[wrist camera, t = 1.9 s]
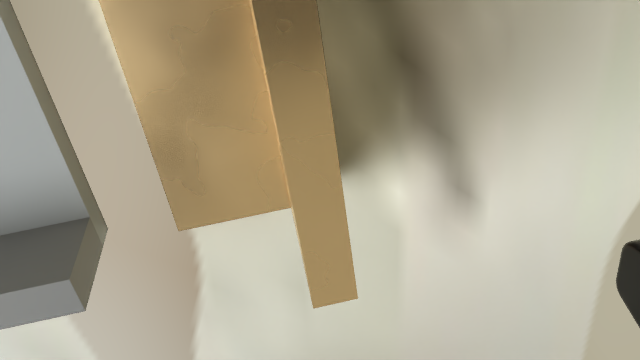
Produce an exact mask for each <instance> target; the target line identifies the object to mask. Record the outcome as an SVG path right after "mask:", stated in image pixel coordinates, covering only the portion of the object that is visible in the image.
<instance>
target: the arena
mask: <svg viewBox="0 0 640 360" xmlns="http://www.w3.org/2000/svg"><path fill="white" fill-rule="evenodd" d="M107 230H108V228H107V225H106V223H105V221H104V218H103V216H102V214H101V211H100V209H99V207H98V205H97V202H96V200H95V198H94V195H93V193H92V191H91V188H90V186H89V184H88V181H87V179H86V177H85V174H84V172H83V170H82V167H81V165H80V163H79V160H78V158H77V156H76V153H75V151H74V149H73V147H72V144H71V142H70V140H69V137H68V135H67V133H66V130H65V128H64V126H63V123H62V121H61V119H60V116H59V114H58V112H57V109H56V107H55V105H54V102H53V100H52V98H51V95H50V93H49V91H48V89H47V86H46V84H45V82H44V79H43V77H42V75H41V72H40V70H39V68H38V65H37V63H36V61H35V58H34V56H33V54H32V51H31V49H30V47H29V44H28V42H27V40H26V38H25V35H24V33H23V31H22V28H21V26H20V24H19V21H18V19H17V17H16V14H15V12H14V10H13V7H12V5H11V3H10V0H0V330H1V329H5V328H10V327H14V326H19V325H24V324H28V323H33V322H37V321H42V320H47V319H51V318H56V317H60V316H65V315H70V314H74V313H79V312H83V311H85V310H86V306H87V303H88V299H89V295H90V292H91V288H92V285H93V281H94V277H95V274H96V270H97V266H98V263H99V259H100V255H101V252H102V248H103V244H104V241H105V237H106V233H107Z"/></svg>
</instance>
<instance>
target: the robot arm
mask: <svg viewBox="0 0 640 360" xmlns="http://www.w3.org/2000/svg"><path fill="white" fill-rule="evenodd" d="M616 283H617V289H618V292H619V294H620V296H621V298H622V299H623V301H624V303H625V304H626V306H627V308H628V309H629V311H630V313H631V314H632V316H633V318H634V319H635V321H636V323H637V324H638V326H639V328H640V240H636V241H631V242H628V243H626V244H625V245H624V247H623V248H622V252H621V258H620V263H619V268H618V273H617V278H616Z"/></svg>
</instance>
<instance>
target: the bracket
mask: <svg viewBox="0 0 640 360" xmlns="http://www.w3.org/2000/svg"><path fill="white" fill-rule="evenodd" d="M99 3H100V5H101V8H102V11H103V14H104V17H105V20H106V23H107V26H108V29H109V32H110V34H111V37H112V40H113V43H114V46H115V49H116V52H117V55H118V58H119V60H120V63H121V66H122V69H123V72H124V75H125V78H126V81H127V84H128V86H129V89H130V92H131V95H132V98H133V101H134V104H135V107H136V110H137V113H138V115H139V118H140V121H141V124H142V127H143V130H144V133H145V136H146V139H147V141H148V144H149V147H150V150H151V153H152V156H153V159H154V162H155V164H156V167H157V170H158V173H159V176H160V179H161V182H162V185H163V188H164V191H165V193H166V196H167V199H168V202H169V205H170V208H171V211H172V214H173V217H174V220H175V222H176V225H177V228H178V231H182V230H187V229H192V228H196V227H201V226H206V225H211V224H216V223H220V222H225V221H230V220H235V219H239V218H244V217H249V216H254V215H258V214H263V213H268V212H273V211H277V210H282V209H287V208H291V209H292V213H293V218H294V223H295V227H296V232H297V236H298V241H299V245H300V250H301V254H302V259H303V264H304V268H305V273H306V277H307V282H308V286H309V291H310V296H311V300H312V305H313V308H318V307H322V306H327V305H331V304H336V303H340V302H344V301H349V300H353V299H358V296H357V289H356V281H355V274H354V267H353V260H352V253H351V245H350V238H349V231H348V224H347V217H346V209H345V202H344V195H343V188H342V181H341V173H340V166H339V159H338V152H337V145H336V137H335V130H334V123H333V116H332V109H331V101H330V94H329V87H328V80H327V73H326V65H325V58H324V51H323V44H322V36H321V29H320V22H319V15H318V8H317V0H99Z"/></svg>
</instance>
